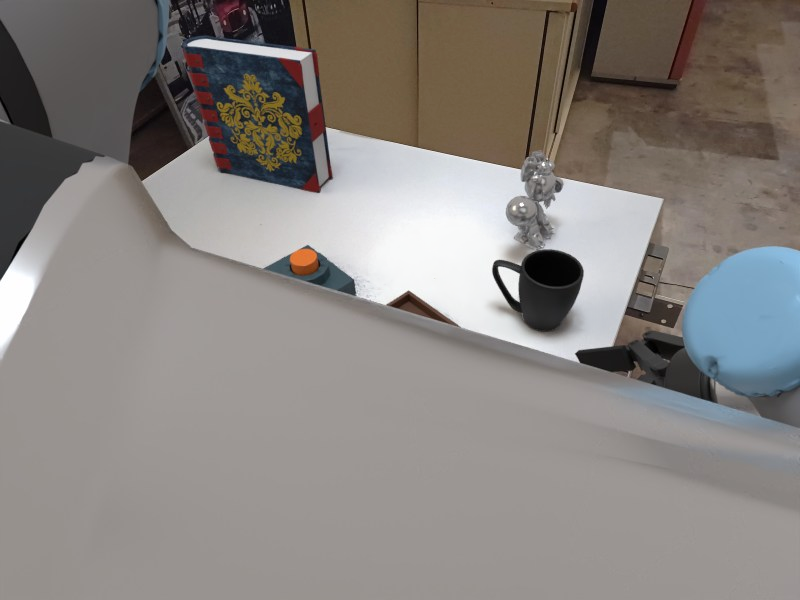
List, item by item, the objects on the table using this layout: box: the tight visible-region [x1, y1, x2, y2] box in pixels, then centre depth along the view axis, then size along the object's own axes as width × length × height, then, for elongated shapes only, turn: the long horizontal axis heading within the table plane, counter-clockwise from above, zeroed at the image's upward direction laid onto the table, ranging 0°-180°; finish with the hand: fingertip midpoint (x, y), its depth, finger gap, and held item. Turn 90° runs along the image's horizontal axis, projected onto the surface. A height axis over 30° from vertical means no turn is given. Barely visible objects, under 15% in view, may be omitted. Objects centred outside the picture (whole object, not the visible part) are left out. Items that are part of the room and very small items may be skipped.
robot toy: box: [505, 149, 565, 251], centre depth 88 cm, size 15×6×15 cm, turn 144°
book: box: [181, 35, 333, 194], centre depth 103 cm, size 25×7×25 cm, turn 67°
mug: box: [491, 248, 585, 332], centre depth 77 cm, size 8×12×10 cm
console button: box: [290, 248, 319, 276], centre depth 82 cm, size 4×4×2 cm
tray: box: [386, 290, 461, 327], centre depth 77 cm, size 13×11×2 cm
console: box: [262, 244, 357, 296], centre depth 84 cm, size 12×9×5 cm
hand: (545, 395), depth 60 cm, fingers open, 13 cm apart
